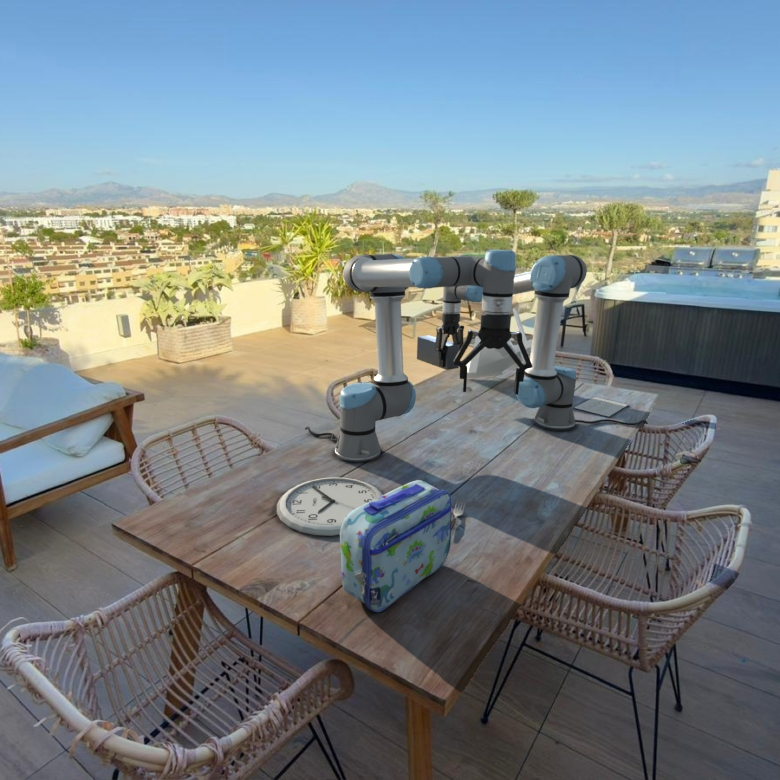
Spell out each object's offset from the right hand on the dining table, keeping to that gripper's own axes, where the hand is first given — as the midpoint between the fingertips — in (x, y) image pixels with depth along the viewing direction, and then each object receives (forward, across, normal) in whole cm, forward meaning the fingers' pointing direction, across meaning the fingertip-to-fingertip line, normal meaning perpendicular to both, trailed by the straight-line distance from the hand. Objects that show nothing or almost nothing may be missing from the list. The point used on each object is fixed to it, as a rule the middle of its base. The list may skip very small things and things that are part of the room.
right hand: (448, 365), depth 226 cm
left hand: (-16, +46, +72) cm, 87 cm away
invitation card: (+16, -53, +41) cm, 69 cm away
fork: (+16, +62, +79) cm, 102 cm away
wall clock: (+16, +85, +54) cm, 102 cm away
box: (+1, 0, -8) cm, 8 cm away
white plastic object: (+16, -37, -4) cm, 41 cm away
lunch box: (+16, +88, +91) cm, 128 cm away
